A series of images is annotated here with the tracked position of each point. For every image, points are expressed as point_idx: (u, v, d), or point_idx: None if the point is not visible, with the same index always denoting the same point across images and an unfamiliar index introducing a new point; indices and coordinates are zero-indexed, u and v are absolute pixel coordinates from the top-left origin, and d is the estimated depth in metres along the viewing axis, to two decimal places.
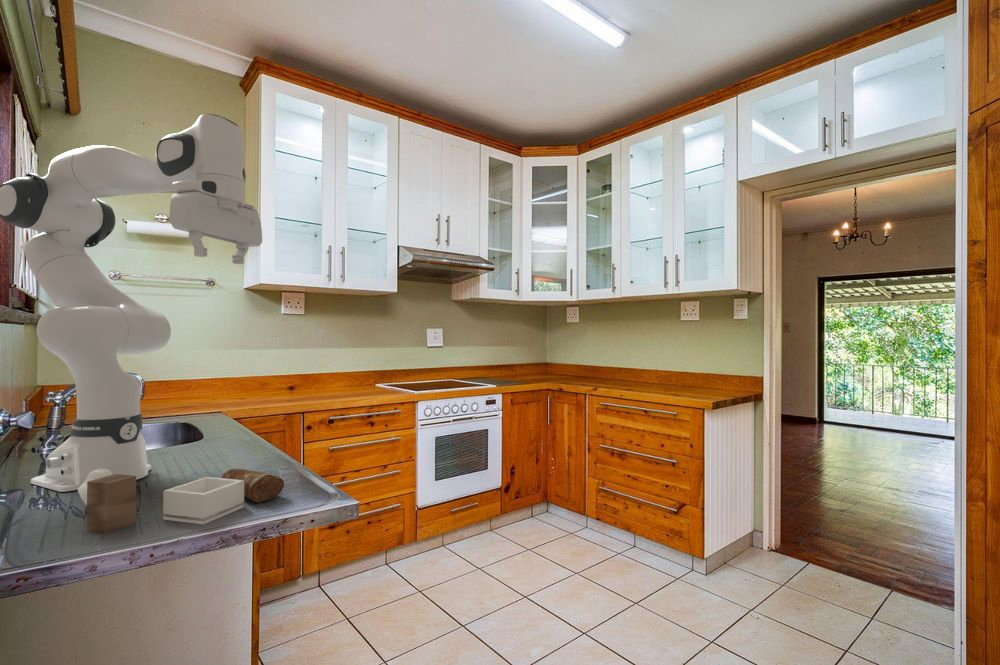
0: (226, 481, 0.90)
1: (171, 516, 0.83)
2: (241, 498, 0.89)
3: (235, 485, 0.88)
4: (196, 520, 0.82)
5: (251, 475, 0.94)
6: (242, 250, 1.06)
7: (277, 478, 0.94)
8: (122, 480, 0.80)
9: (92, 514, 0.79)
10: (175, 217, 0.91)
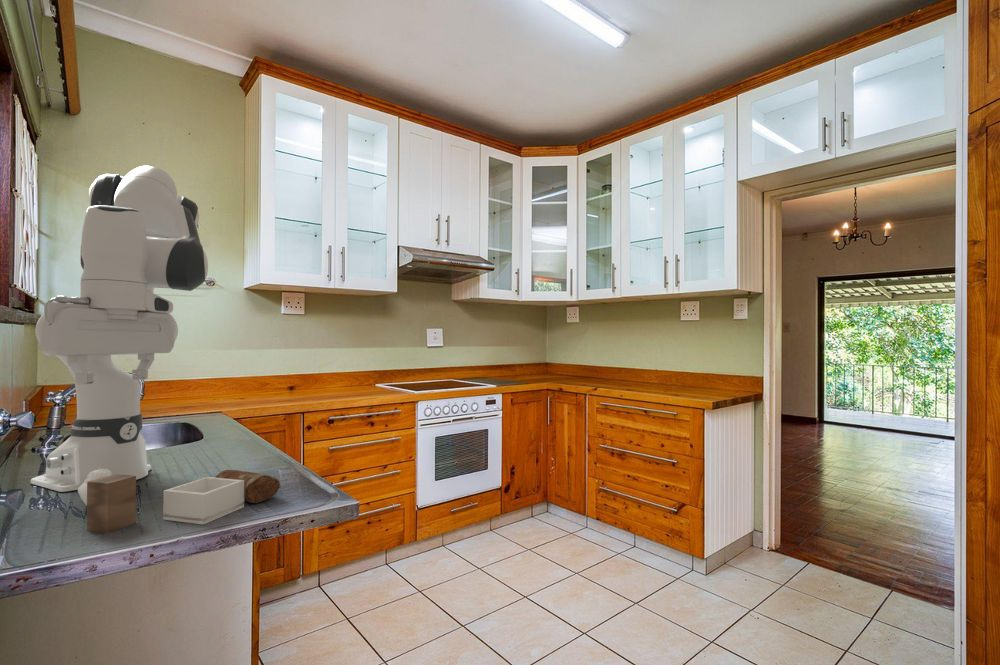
0: (226, 481, 0.90)
1: (171, 516, 0.83)
2: (241, 498, 0.89)
3: (235, 485, 0.88)
4: (196, 520, 0.82)
5: (246, 476, 0.94)
6: None
7: (273, 479, 0.94)
8: (122, 480, 0.80)
9: (92, 514, 0.79)
10: None
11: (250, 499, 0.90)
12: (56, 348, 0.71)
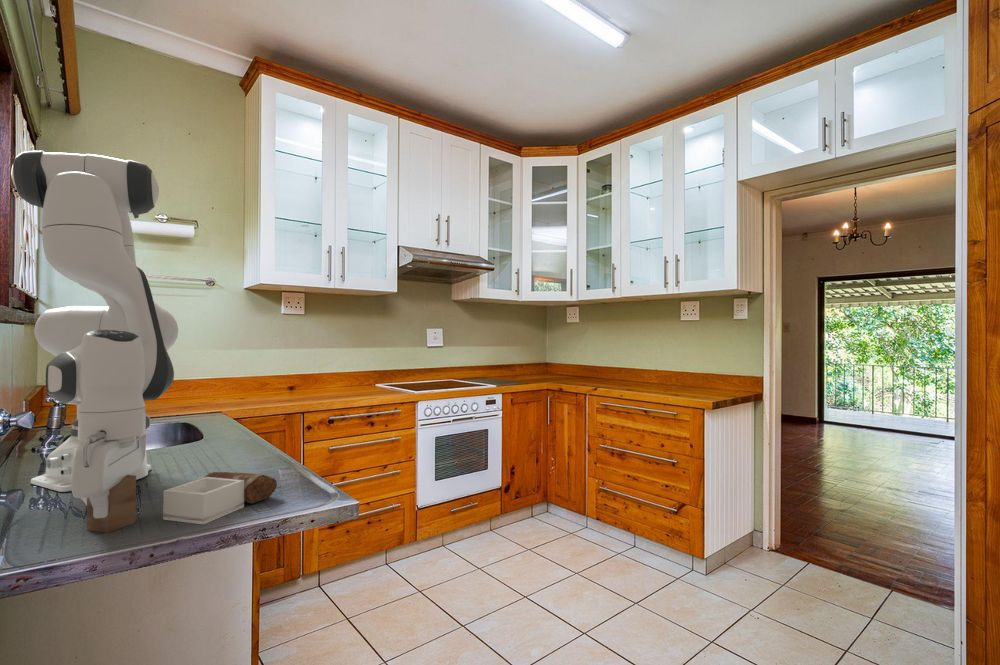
0: (226, 481, 0.90)
1: (171, 516, 0.83)
2: (241, 498, 0.89)
3: (235, 485, 0.88)
4: (196, 520, 0.82)
5: (242, 476, 0.93)
6: None
7: (270, 478, 0.94)
8: (122, 480, 0.80)
9: (92, 514, 0.79)
10: None
11: (249, 499, 0.90)
12: (98, 490, 0.72)
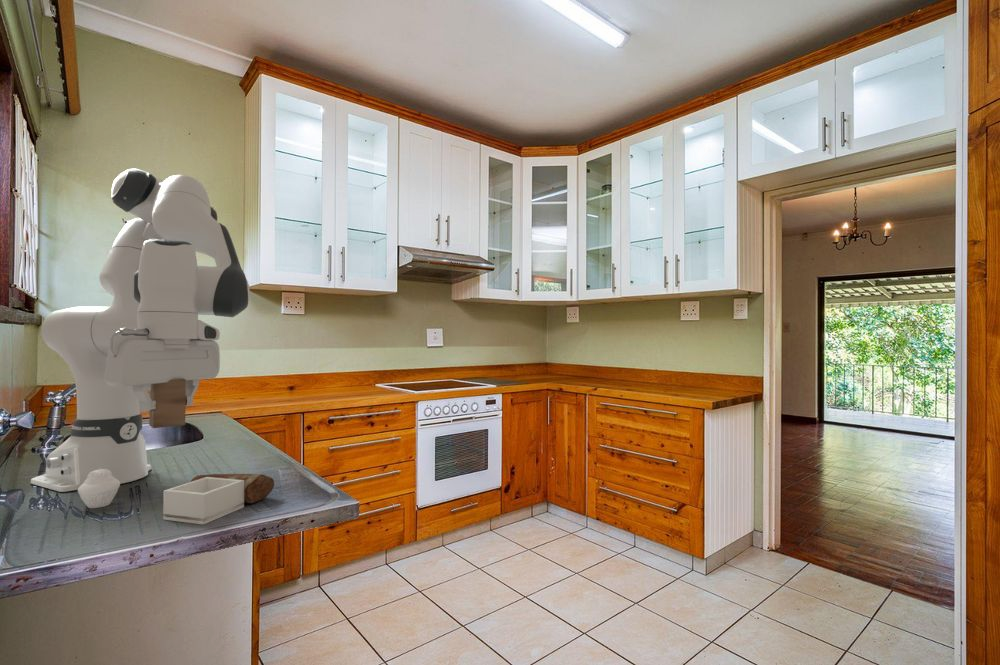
0: (226, 481, 0.90)
1: (171, 516, 0.83)
2: (241, 498, 0.89)
3: (235, 485, 0.88)
4: (196, 520, 0.82)
5: (239, 477, 0.93)
6: None
7: (268, 478, 0.94)
8: (170, 380, 0.83)
9: None
10: None
11: (250, 499, 0.90)
12: (121, 380, 0.74)
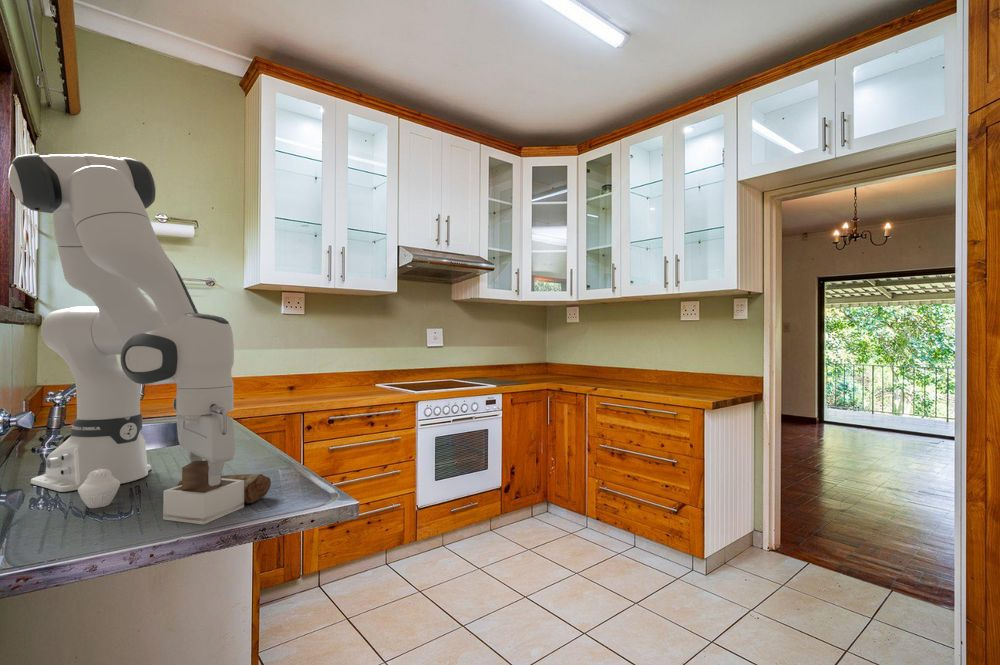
0: (226, 481, 0.90)
1: (171, 516, 0.83)
2: (241, 498, 0.89)
3: (235, 485, 0.88)
4: (196, 520, 0.82)
5: (236, 478, 0.92)
6: None
7: (266, 477, 0.95)
8: None
9: None
10: None
11: (250, 499, 0.90)
12: (234, 454, 0.81)
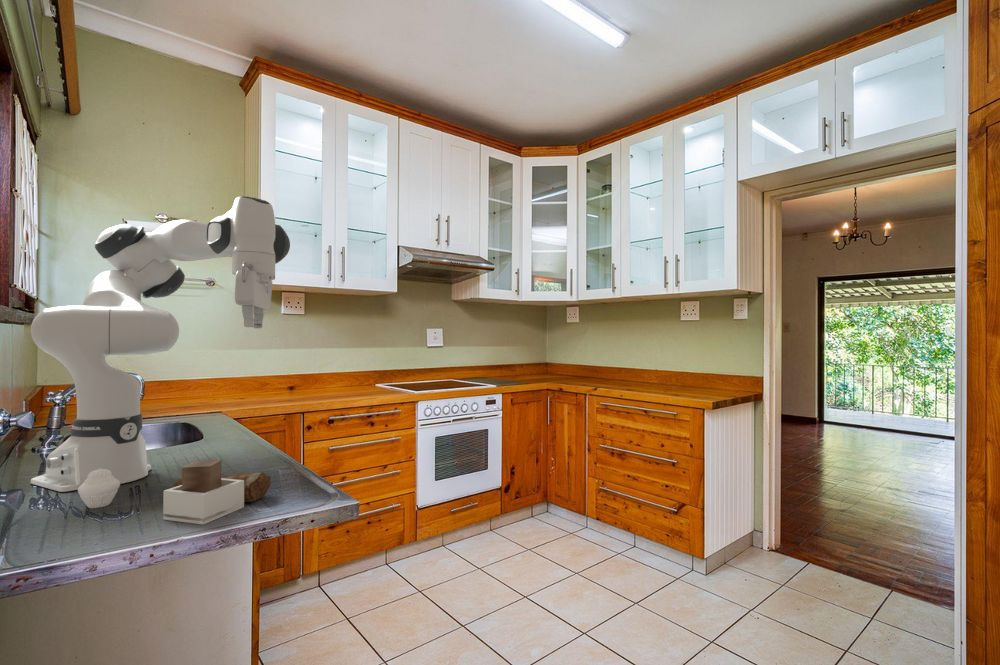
0: (226, 481, 0.90)
1: (171, 516, 0.83)
2: (241, 498, 0.89)
3: (235, 485, 0.88)
4: (196, 520, 0.82)
5: (237, 477, 0.93)
6: None
7: (266, 476, 0.96)
8: (216, 463, 0.87)
9: None
10: None
11: (253, 497, 0.91)
12: (251, 299, 1.01)
